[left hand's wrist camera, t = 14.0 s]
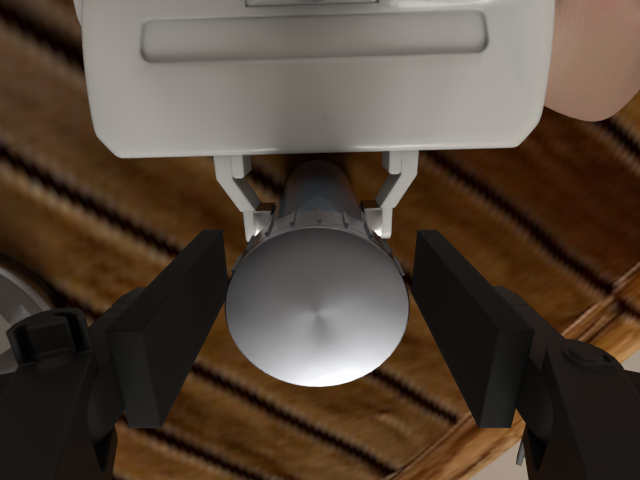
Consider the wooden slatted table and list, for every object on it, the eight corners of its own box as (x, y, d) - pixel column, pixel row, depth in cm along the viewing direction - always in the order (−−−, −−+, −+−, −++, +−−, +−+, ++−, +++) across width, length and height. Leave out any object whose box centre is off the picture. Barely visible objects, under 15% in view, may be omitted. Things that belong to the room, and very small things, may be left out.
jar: (307, 236, 26) (294, 390, 12) (272, 182, 25) (206, 283, 10) (363, 204, 25) (421, 328, 11) (330, 146, 24) (346, 201, 10)
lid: (293, 377, 13) (289, 414, 12) (201, 261, 12) (182, 285, 10) (427, 310, 12) (443, 341, 11) (347, 173, 11) (352, 184, 9)
